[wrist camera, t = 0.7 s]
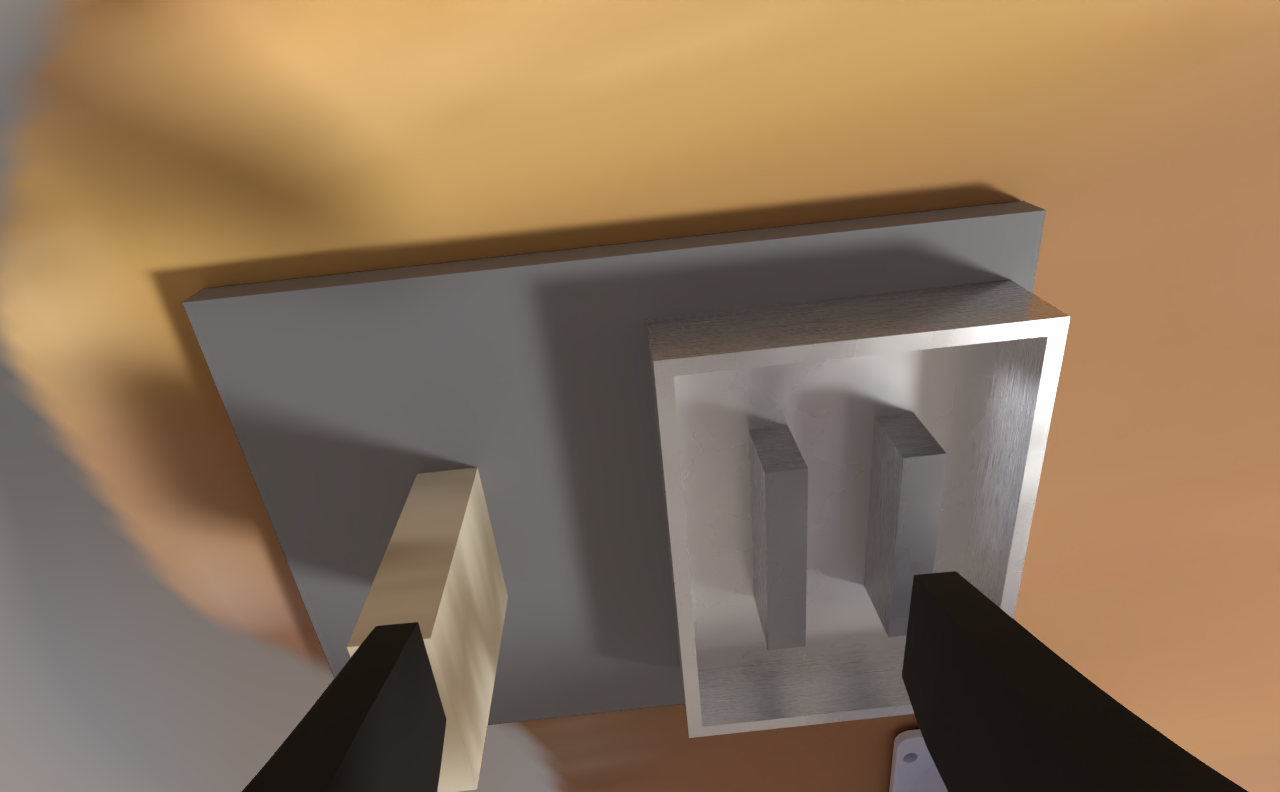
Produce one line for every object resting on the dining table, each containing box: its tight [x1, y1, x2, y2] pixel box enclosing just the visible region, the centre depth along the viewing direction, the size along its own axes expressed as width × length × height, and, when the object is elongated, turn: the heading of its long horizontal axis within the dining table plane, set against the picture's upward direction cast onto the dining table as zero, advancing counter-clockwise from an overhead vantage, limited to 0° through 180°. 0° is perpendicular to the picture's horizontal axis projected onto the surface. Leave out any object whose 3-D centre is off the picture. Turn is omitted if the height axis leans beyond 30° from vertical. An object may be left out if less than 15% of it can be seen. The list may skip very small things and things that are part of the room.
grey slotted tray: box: [646, 280, 1070, 738], centre depth 19 cm, size 12×9×2 cm
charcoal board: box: [183, 201, 1046, 725], centre depth 21 cm, size 15×20×1 cm
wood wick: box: [347, 467, 508, 792], centre depth 17 cm, size 4×2×6 cm, turn 6°
